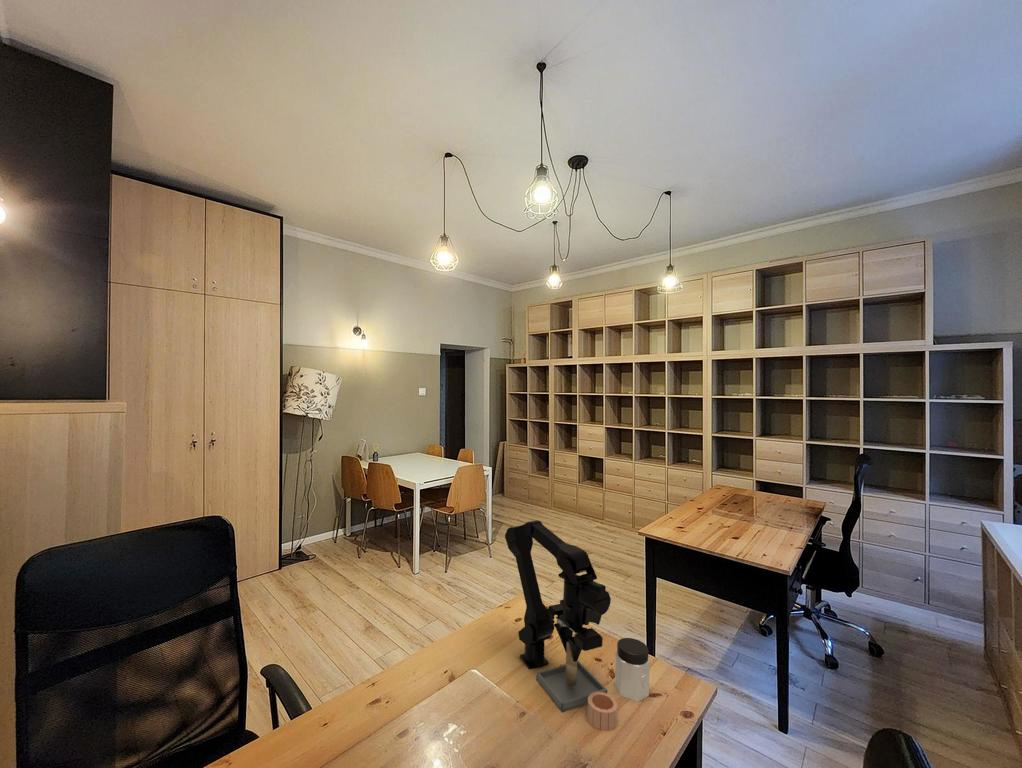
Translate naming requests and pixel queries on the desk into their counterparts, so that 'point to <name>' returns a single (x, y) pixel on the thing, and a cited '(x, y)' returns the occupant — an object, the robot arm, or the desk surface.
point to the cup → (602, 711)
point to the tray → (566, 694)
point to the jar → (632, 669)
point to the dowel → (570, 668)
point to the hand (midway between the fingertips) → (571, 657)
